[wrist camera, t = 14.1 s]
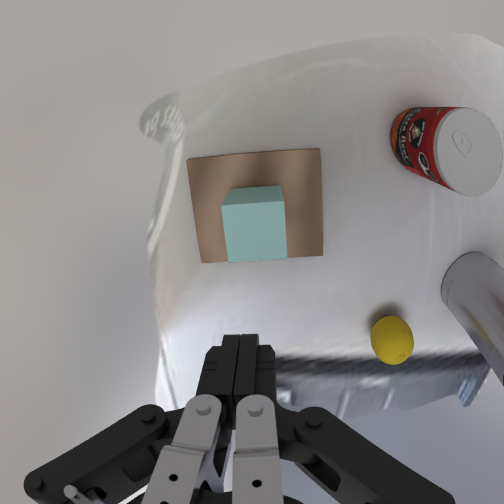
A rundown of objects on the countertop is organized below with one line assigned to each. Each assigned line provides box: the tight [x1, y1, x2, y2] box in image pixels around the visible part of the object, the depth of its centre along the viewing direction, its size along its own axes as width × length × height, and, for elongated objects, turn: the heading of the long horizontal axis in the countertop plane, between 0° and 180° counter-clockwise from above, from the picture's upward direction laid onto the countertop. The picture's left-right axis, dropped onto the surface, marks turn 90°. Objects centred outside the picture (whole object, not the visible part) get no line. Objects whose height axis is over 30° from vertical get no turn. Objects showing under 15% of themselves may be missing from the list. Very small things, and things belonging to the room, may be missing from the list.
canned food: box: [391, 107, 503, 196], centre depth 25 cm, size 8×8×11 cm
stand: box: [186, 149, 323, 263], centre depth 31 cm, size 14×12×8 cm
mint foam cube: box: [221, 185, 287, 262], centre depth 30 cm, size 5×5×7 cm
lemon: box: [371, 316, 414, 364], centre depth 36 cm, size 6×6×8 cm
